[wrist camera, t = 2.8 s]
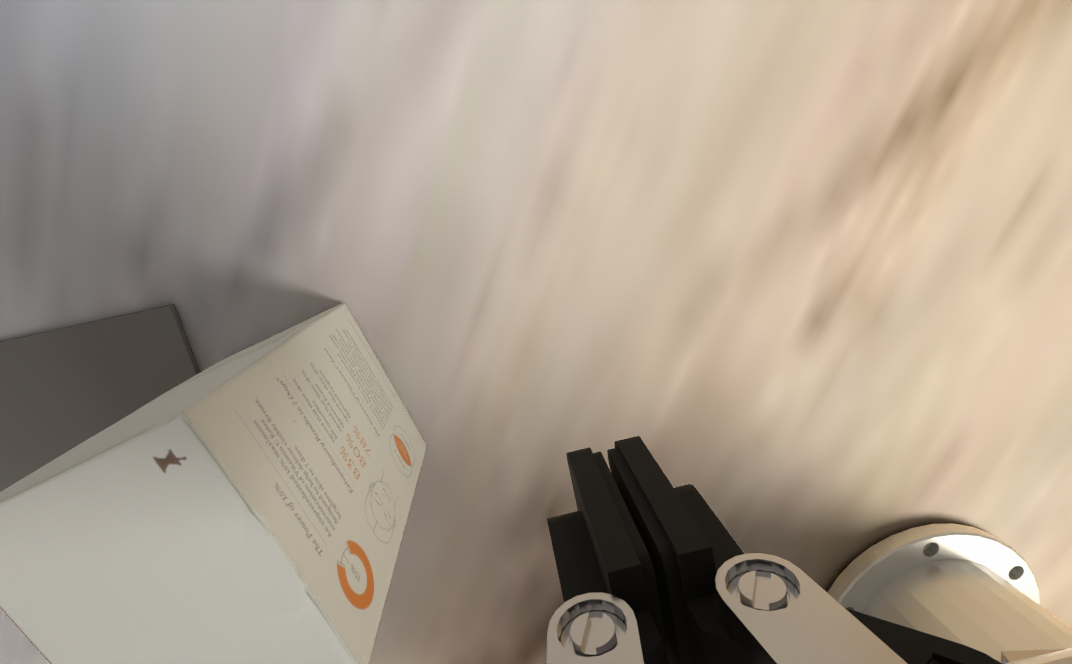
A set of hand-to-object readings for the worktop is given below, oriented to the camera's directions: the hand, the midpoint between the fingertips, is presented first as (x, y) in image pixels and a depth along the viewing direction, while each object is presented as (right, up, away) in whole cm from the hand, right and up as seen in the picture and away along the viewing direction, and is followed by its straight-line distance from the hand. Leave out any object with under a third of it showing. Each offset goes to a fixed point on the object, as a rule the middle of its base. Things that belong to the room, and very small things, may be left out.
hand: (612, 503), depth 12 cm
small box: (-11, 0, +13) cm, 17 cm away
